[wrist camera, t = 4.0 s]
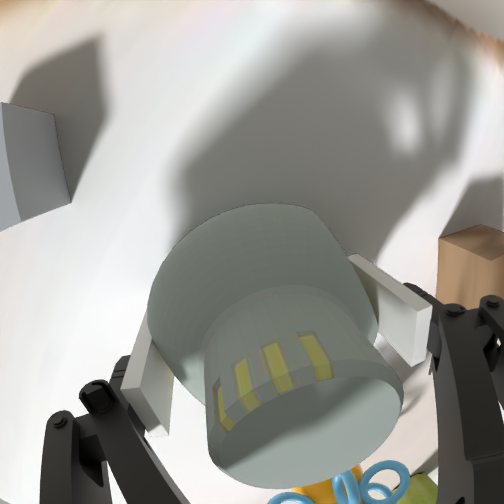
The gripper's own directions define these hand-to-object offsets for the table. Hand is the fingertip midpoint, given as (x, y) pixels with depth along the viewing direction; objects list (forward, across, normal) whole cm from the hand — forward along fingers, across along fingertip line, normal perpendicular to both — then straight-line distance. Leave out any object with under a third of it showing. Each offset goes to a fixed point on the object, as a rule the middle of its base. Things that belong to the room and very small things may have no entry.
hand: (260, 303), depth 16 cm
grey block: (+1, +11, -10) cm, 15 cm away
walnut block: (+1, -15, +2) cm, 15 cm away
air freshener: (+1, 0, 0) cm, 1 cm away
